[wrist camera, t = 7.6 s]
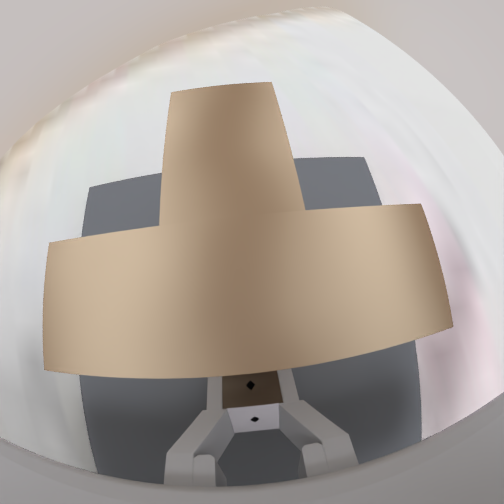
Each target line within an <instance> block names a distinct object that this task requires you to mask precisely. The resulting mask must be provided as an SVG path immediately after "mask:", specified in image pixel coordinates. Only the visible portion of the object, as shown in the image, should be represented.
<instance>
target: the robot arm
mask: <svg viewBox="0 0 504 504" xmlns="http://www.w3.org/2000/svg"><path fill="white" fill-rule="evenodd" d="M278 428H279V429H280V430H281V431H282V432H283V433H284V434H285V436H286V437H287V438H288V439H289V440H290V441H291V442H292V443H293V444H294V445H295V446H296V447H297V448H298V449H299V450H300V451H301V455H300V461H299V466H298V476H299V479H295V480H289V481H282V482H275V483H267V484H257V485H244V486H227V479H226V477H225V475H224V473H223V472H222V470H221V468H220V466H219V465H218V463H217V462H218V460H219V458H220V457H221V455H222V454H223V452H224V450H225V449H226V447H227V446H228V444H229V442H230V441H231V439H232V437H233V436H234V433H240V432H249V431H258V430H269V429H278ZM0 504H504V392H503V393H501V394H500V395H499V396H497V397H496V398H494V399H493V400H492V401H490V402H489V403H487V404H486V405H484V406H483V407H481V408H480V409H478V410H477V411H475V412H473V413H472V414H470V415H469V416H467V417H465V418H464V419H462V420H460V421H458V422H457V423H455V424H453V425H451V426H450V427H448V428H446V429H444V430H442V431H440V432H438V433H436V434H434V435H432V436H430V437H428V438H426V439H424V440H422V441H420V442H417V443H415V444H413V445H411V446H408V447H406V448H403V449H401V450H399V451H396V452H393V453H391V454H388V455H386V456H383V457H380V458H377V459H374V460H371V461H368V462H365V463H362V464H359V463H358V460H357V457H356V454H355V451H354V448H353V446H352V443H351V440H350V437H349V434H348V433H346V432H345V431H343V430H342V429H341V428H339V427H338V426H337V425H335V424H334V423H333V422H331V421H330V420H329V419H327V418H326V417H325V416H323V415H322V414H321V413H319V412H318V411H317V410H316V409H314V408H313V407H312V406H310V405H309V404H308V403H307V402H305V401H304V400H299V397H298V393H297V389H296V385H295V381H294V377H293V373H292V370H291V368H290V369H283V370H276V371H269V372H260V373H252V374H242V375H231V376H218V377H208V385H207V410H202V412H201V413H200V414H199V415H198V417H197V418H196V419H195V420H194V421H193V423H192V424H191V425H190V426H189V427H188V429H187V430H186V431H185V432H184V433H183V434H182V436H181V437H180V438H179V439H178V440H177V441H176V443H175V444H174V445H173V446H172V447H171V448H170V449H169V451H168V452H167V455H166V464H165V475H164V484H155V483H147V482H140V481H133V480H127V479H122V478H117V477H112V476H107V475H103V474H98V473H94V472H90V471H86V470H83V469H79V468H76V467H72V466H69V465H66V464H63V463H60V462H57V461H54V460H51V459H49V458H46V457H43V456H41V455H38V454H36V453H33V452H31V451H28V450H26V449H24V448H21V447H19V446H17V445H15V444H13V443H11V442H9V441H7V440H5V439H3V438H1V437H0Z"/></svg>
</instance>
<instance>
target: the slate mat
mask: <svg viewBox="0 0 504 504" xmlns="http://www.w3.org/2000/svg"><path fill="white" fill-rule="evenodd" d="M293 160H294V164H295V168H296V172H297V176H298V180H299V184H300V188H301V193H302V197H303V201H304V206H305V210H316V209H330V208H345V207H361V206H380V205H382V203H381V201H380V198H379V195H378V192H377V189H376V186H375V184H374V181H373V178H372V176H371V173H370V171H369V168H368V166H367V163H366V161H365V158H364V157H324V158H297V159H293ZM161 180H162V173H158V174H152V175H147V176H141V177H136V178H131V179H126V180H121V181H116V182H111V183H107V184H102V185H98V186H94V187H90V188H89V193H88V198H87V204H86V209H85V216H84V222H83V229H82V237H86V236H92V235H98V234H105V233H111V232H118V231H125V230H132V229H139V228H146V227H153V226H159V218H160V196H161ZM291 370H292V373H293V377H294V381H295V385H296V389H297V393H298V397H299V400H304V401H305V402H307V403H308V404H309V405H310V406H312V407H313V408H314V409H316V410H317V411H318V412H319V413H321V414H322V415H323V416H325V417H326V418H327V419H329V420H330V421H331V422H333V423H334V424H335V425H337V426H338V427H339V428H341V429H342V430H343V431H345V432H346V433H348V434H349V437H350V440H351V443H352V446H353V448H354V451H355V454H356V457H357V460H358V463H359V464H362V463H365V462H368V461H371V460H374V459H377V458H380V457H383V456H386V455H388V454H391V453H393V452H396V451H399V450H401V449H403V448H406V447H408V446H411V445H413V444H415V443H417V442H420V441H421V438H422V426H421V397H420V383H419V372H418V362H417V354H416V346H415V340H413V341H410V342H407V343H403V344H400V345H396V346H393V347H389V348H386V349H382V350H378V351H374V352H370V353H366V354H362V355H358V356H353V357H349V358H344V359H340V360H335V361H330V362H325V363H320V364H314V365H309V366H303V367H297V368H291ZM79 376H80V385H81V394H82V401H83V408H84V414H85V420H86V425H87V430H88V435H89V440H90V444H91V449H92V453H93V457H94V461H95V464H96V468H97V471H98V474H103V475H107V476H112V477H117V478H122V479H127V480H133V481H140V482H147V483H155V484H164V475H165V464H166V455H167V452H168V451H169V449H170V448H171V447H172V446H173V445H174V444H175V443H176V441H177V440H178V439H179V438H180V437H181V436H182V434H183V433H184V432H185V431H186V430H187V429H188V427H189V426H190V425H191V424H192V423H193V421H194V420H195V419H196V418H197V417H198V415H199V414H200V413H201V412H202V410H207V385H208V377H201V378H168V379H149V378H117V377H101V376H89V375H79ZM300 455H301V451H300V450H299V449H298V448H297V447H296V446H295V445H294V444H293V443H292V442H291V441H290V440H289V439H288V438H287V437H286V436H285V434H284V433H283V432H282V431H281V430H280V429H279V428H278V429H269V430H258V431H249V432H240V433H234V436H233V437H232V439H231V441H230V442H229V444H228V446H227V447H226V449H225V450H224V452H223V454H222V455H221V457H220V458H219V460H218V462H217V463H218V465H219V466H220V468H221V470H222V472H223V473H224V475H225V477H226V479H227V486H244V485H257V484H267V483H275V482H282V481H289V480H295V479H299V476H298V466H299V461H300Z"/></svg>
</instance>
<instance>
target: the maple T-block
mask: <svg viewBox="0 0 504 504" xmlns="http://www.w3.org/2000/svg"><path fill="white" fill-rule="evenodd" d="M451 327H453V322H452V316H451V310H450V305H449V300H448V295H447V290H446V286H445V281H444V277H443V273H442V269H441V265H440V261H439V258H438V254H437V251H436V247H435V244H434V241H433V237H432V234H431V231H430V228H429V225H428V222H427V219H426V216H425V214H424V211H423V208H422V205H421V204H401V205H380V206H361V207H345V208H330V209H316V210H305V206H304V201H303V197H302V193H301V188H300V184H299V180H298V176H297V172H296V168H295V164H294V160H293V156H292V152H291V148H290V144H289V141H288V137H287V133H286V130H285V126H284V122H283V119H282V115H281V112H280V108H279V105H278V102H277V98H276V95H275V92H274V88H273V85H272V82H260V83H243V84H230V85H220V86H211V87H203V88H195V89H189V90H182V91H176V92H171V97H170V104H169V111H168V119H167V127H166V135H165V145H164V155H163V167H162V180H161V196H160V218H159V226H153V227H146V228H139V229H132V230H125V231H118V232H111V233H105V234H98V235H92V236H86V237H80V238H74V239H68V240H62V241H56V242H51V243H49V248H48V255H47V263H46V272H45V283H44V298H43V356H44V370H47V371H54V372H62V373H70V374H79V375H89V376H101V377H117V378H149V379H168V378H201V377H218V376H231V375H242V374H252V373H260V372H269V371H276V370H283V369H290V368H297V367H303V366H309V365H314V364H320V363H325V362H330V361H335V360H340V359H344V358H349V357H353V356H358V355H362V354H366V353H370V352H374V351H378V350H382V349H386V348H389V347H393V346H396V345H400V344H403V343H407V342H410V341H413V340H416V339H419V338H423V337H426V336H429V335H432V334H435V333H437V332H440V331H443V330H446V329H449V328H451Z"/></svg>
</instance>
